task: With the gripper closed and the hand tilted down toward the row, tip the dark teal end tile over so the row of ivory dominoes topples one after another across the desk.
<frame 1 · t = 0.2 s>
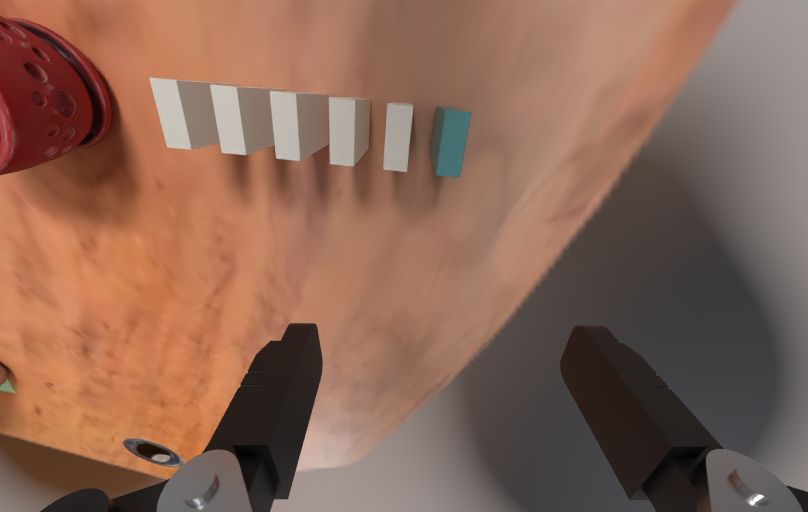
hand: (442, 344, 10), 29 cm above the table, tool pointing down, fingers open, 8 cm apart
domino 4: (319, 119, 33), on the table
domino 2: (401, 128, 33), on the table
domino 3: (360, 123, 33), on the table
domino 1: (442, 132, 33), on the table
domino 5: (278, 114, 33), on the table
domino 6: (236, 110, 33), on the table
plant pot: (69, 92, 33), on the table
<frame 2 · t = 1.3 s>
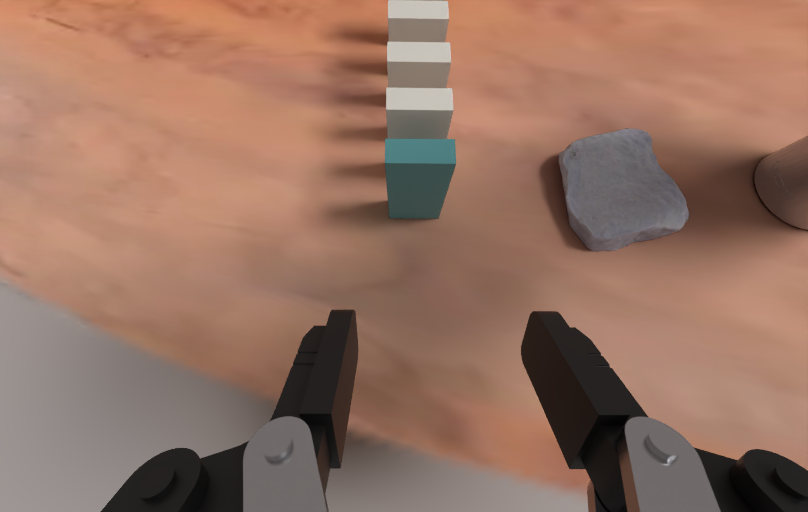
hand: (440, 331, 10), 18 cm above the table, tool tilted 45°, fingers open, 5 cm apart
domino 4: (413, 100, 35), on the table
domino 2: (413, 170, 32), on the table
domino 3: (413, 134, 34), on the table
domino 1: (413, 209, 31), on the table
stone block: (597, 198, 32), on the table
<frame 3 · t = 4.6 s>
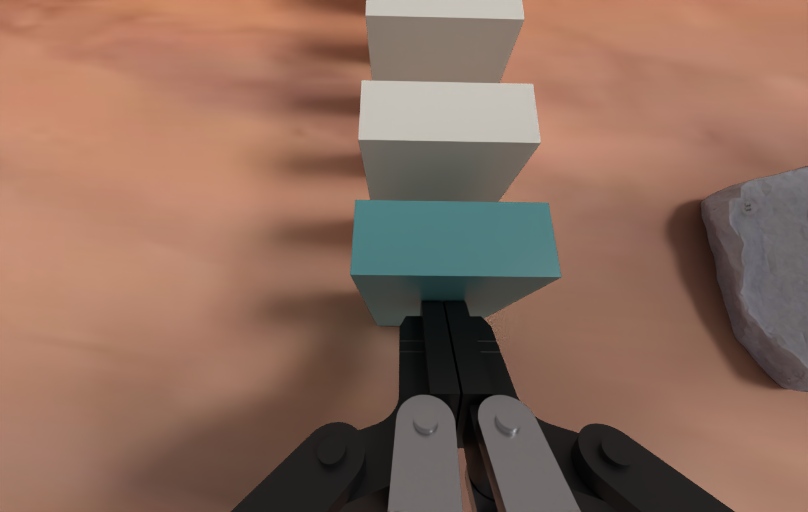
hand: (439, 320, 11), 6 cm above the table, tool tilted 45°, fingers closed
domino 2: (422, 232, 18), on the table
domino 3: (421, 166, 19), on the table
domino 1: (422, 307, 17), on the table, touching gripper
stone block: (769, 279, 18), on the table
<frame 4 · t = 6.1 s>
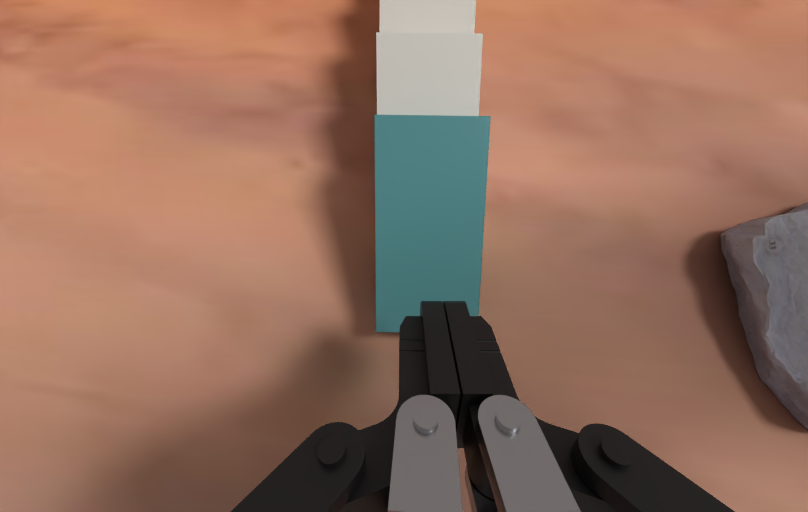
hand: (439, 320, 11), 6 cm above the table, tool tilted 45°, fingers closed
domino 2: (423, 241, 17), point 1 cm above the table, tilted 63°, touching domino 1, domino 3
domino 3: (421, 168, 18), point 1 cm above the table, tilted 63°, touching domino 2, domino 4
domino 1: (425, 324, 16), point 1 cm above the table, tilted 64°, touching domino 2
stone block: (792, 314, 18), on the table
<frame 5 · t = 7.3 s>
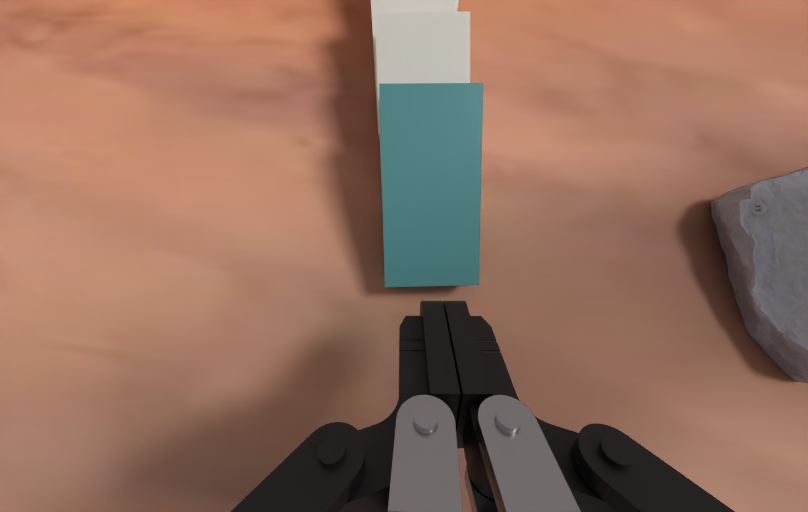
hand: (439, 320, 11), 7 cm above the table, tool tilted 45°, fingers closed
domino 2: (424, 206, 18), point 1 cm above the table, tilted 65°, touching domino 1, domino 3
domino 3: (417, 137, 20), point 1 cm above the table, tilted 66°, touching domino 2
domino 1: (429, 281, 17), point 1 cm above the table, tilted 65°, touching domino 2
stone block: (779, 275, 19), on the table
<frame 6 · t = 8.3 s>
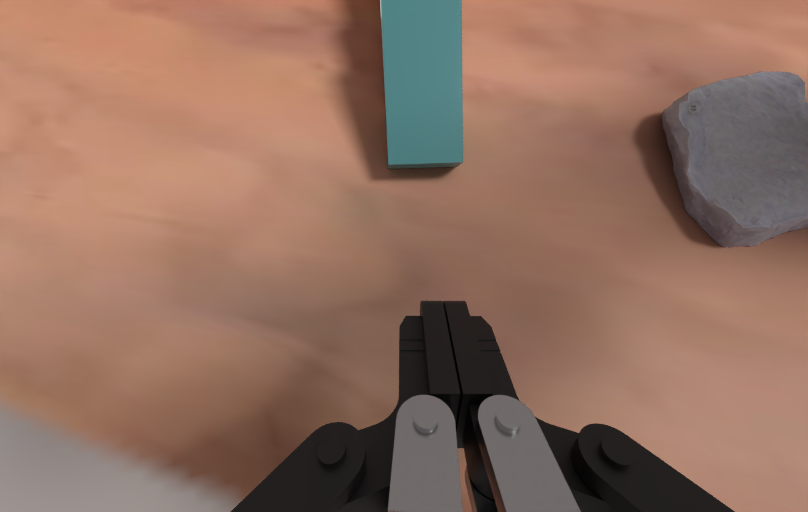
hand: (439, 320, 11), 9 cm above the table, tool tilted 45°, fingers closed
domino 1: (424, 165, 21), point 1 cm above the table, tilted 66°, touching domino 2
stone block: (716, 173, 23), on the table
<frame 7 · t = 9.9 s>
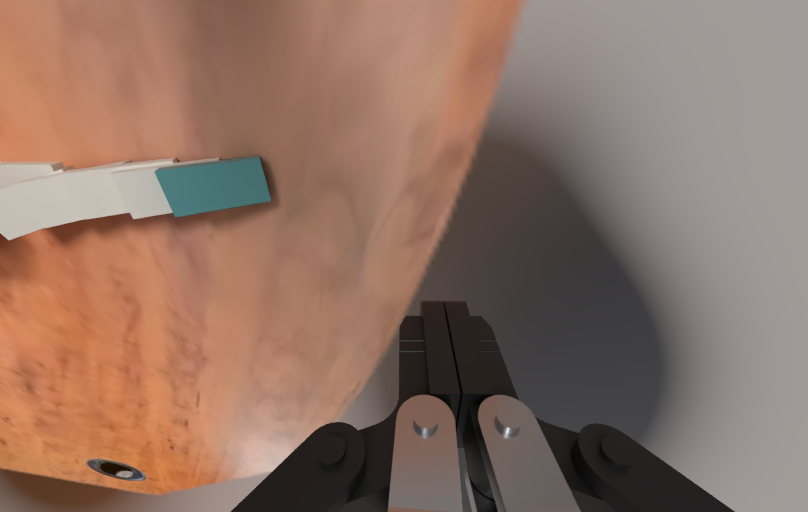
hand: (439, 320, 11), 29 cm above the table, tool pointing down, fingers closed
domino 4: (138, 182, 36), point 1 cm above the table, tilted 67°, touching domino 3
domino 2: (226, 180, 36), point 1 cm above the table, tilted 67°, touching domino 1, domino 3
domino 3: (183, 180, 36), point 1 cm above the table, tilted 67°, touching domino 2, domino 4
domino 1: (265, 178, 36), point 1 cm above the table, tilted 67°, touching domino 2
domino 5: (85, 187, 36), point 1 cm above the table, tilted 73°
domino 6: (70, 183, 37), on the table, tilted 90°
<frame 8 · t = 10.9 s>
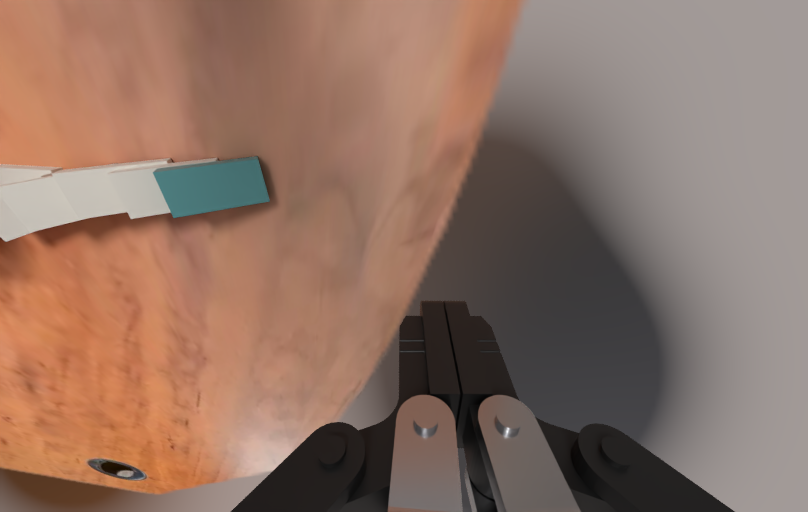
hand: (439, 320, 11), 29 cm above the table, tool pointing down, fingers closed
domino 4: (128, 184, 36), point 1 cm above the table, tilted 61°, touching domino 3, domino 5
domino 2: (223, 180, 36), point 1 cm above the table, tilted 67°, touching domino 1, domino 3
domino 3: (177, 180, 36), point 1 cm above the table, tilted 66°, touching domino 2, domino 4
domino 1: (263, 179, 36), point 1 cm above the table, tilted 66°, touching domino 2
domino 5: (67, 193, 36), point 2 cm above the table, tilted 85°, touching domino 4, domino 6
domino 6: (69, 188, 37), on the table, tilted 90°, touching domino 5, plant pot
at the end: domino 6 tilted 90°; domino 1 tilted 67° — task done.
